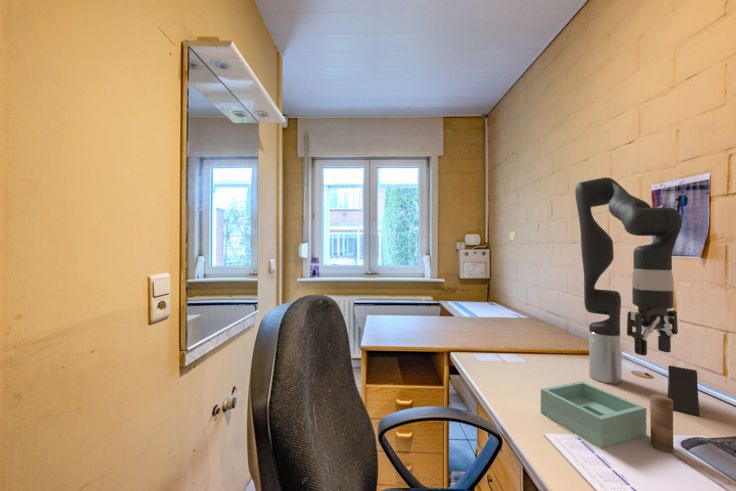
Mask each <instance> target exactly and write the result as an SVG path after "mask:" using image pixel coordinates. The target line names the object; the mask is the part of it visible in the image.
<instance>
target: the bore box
mask: <svg viewBox="0 0 736 491" xmlns="http://www.w3.org/2000/svg"><path fill="white" fill-rule="evenodd" d="M540 413H541V414H542V415H543V416H546V417H547V418H549V419H551V420H552V421H554V422H556V423H558V424H559V425H561V426H562V427H564V428H565V429H568V430H569V431H571V432H573V433H575V434H576V435H578V436H580V437H582V438H583V439H584V440H586V441H588V442H589V443H591V444H593V445H595V446H596V447H598V448H599V449H605V448H607V447H610V446H614V445H617V444H620V443H624V442H627V441H631V440H634V439H637V438H641V437H644V436H647V407H645V406H642V405H640V404H638V403H635V402H634V401H631V400H628V399H626V398H623V397H621V396H619V395H616V394H613V393H611V392H610V391H607V390H604V389H601V388H599V387H597V386H594V385H592V384H589V383H588V382H585V381H582V380H581V381H576V382H572V383H570V382H569V383H566V384H561V385H553V386H550V387H549V386H548V387H543V388H540Z"/></svg>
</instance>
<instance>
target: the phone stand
mask: <svg viewBox="0 0 736 491" xmlns="http://www.w3.org/2000/svg"><path fill="white" fill-rule="evenodd" d="M667 367H668V373H667V374H668V379H667V381H668V382H667V397H668V398H670V399H672V400H673V411H675V412H678V413H679V412H680V413H684V414H688V415H691V416H697V417H700V404H699V403H700V402H699V386H698V371H697V370H696V369H690V368H685V367H680V366H675V365H668V366H667Z"/></svg>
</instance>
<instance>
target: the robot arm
mask: <svg viewBox="0 0 736 491" xmlns="http://www.w3.org/2000/svg"><path fill="white" fill-rule="evenodd" d="M575 186H576V187H575V192H574V194H575V202H576V208H577V214H578V219H579V220H578V221H579V228H580V248H581V249H580V250H581V259H582V260H581V261H582V268H583V277H584V278H583V279H584V280H583V283H584V284H583V290H584V291H583V292H584V293H583V295H584V296H583V299H584V300H583V301H584V307H585V310H586V311H587V312H588V313H590V314H596V315H597V314H598V315H604V316H605V315H606V316H608V318H607V319H605V320H600V321H595V322H591V323H589V325H588V330H589V331H588V334H589V335H588V339H589V340H588V341H589V342H588V345H589V346H588V349H589V351H588V353H589V355H588V357H589V360H588V361H589V362H588V366H589V367H588V368H589V369H588V370H589V372H588V373H589V377H590V378H592V379H593V380H595V381H597V382H601V383H604V384H605V383H606V384H616V385H617V384H620V383H621V381H622V376H623V374H622V366H623V365H622V354H621V311H622V310H621V308H622V297H621V294H620V292H619V291H617V290H609V289H596V288H595V286H596V284H597V283H598V282H597V281H599V278H600V277H601V276H602V274H604V272H605V271H606V270H607V269H608V268H609V267H610V266H611V264H612V263H613V261H614V256H615V255H614V254H615V253H614V242H613V239H612V237H611V236H610V235H609V234H608V233H607V232H606V230H604V229H603V228H602V226H600V225H599V224H598V222H597V221H596V220H595V219H594V216H593V214H592V213H593V212H592V208H594V207H602V206H606V205H608V210H609V213H610V214H611V215H612V216H613V217H614V218H616V219H617V220H618V221H620V222H621V223H622V225H623V228H624V230H625V231H626V232H627V233H628V234H630V235H633V236H637V237H649V236H650V237H654V240H653V241H652V243H650V244H645V245H639V246H636V247H635V248H634V249H633V272H632V280H631V281H632V283H631V284H632V287H631V288H632V297H631V298H632V303H631V304H633V305H634V306H636V307H637V312H636V311H627V318H626V324H627V325H626V335H627V336H629V337H631V338H633V340H634V353H635V354H636V355H640V356H647V355H648V340H647V339H648V338H649V335H650V334H652V333H653V332H654V331H656V332H657V334H658V335H657V348H658V351H659V352H664V353H671V352H672V348H671V347H672V344H671V343H672V342H671V339H672V338H673V337H674V335H677V334H678V332H679V330H678V313H677V311H676V310H674V309H673V308H674V306H675V304H674V303H675V302H674V300H675V298H674V297H675V293H674V277H673V276H674V275H673V251H674V248H675V246H676V242H677V239H678V238H679V237H678V236H679V235H680V232H681V229H682V225H683V218H682V216H681V214H680V212H679V211H678V210H677V209H676V208H673V207H651V205H650V204H649V203H648V202H647V201H645V200H642V198H641V199H640V198H638V197H636V196H634V195H631V194H630V193H629V192H628V191H627V190H626V189H625V188H624V187H623V186H622V185H620V184H619V183H618V182H617V181H616V180H615V179H613V178H611V177H599V178H595V179H589V180H585V181H581V182H578V183H577V184H576V185H575ZM672 309H673V310H672ZM633 328H634V330H633Z"/></svg>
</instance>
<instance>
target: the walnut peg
mask: <svg viewBox="0 0 736 491" xmlns="http://www.w3.org/2000/svg"><path fill="white" fill-rule="evenodd" d="M649 396H650V398H649V399H650V401H649V402H650V409H649V410H650V413H649V414H650V417H649V418H650V424H649V425H650V446H651V447H652V448H653V449H655V450H657V451H659V452H661V453H667V454H672V453H673V452H674V410H673V400H672V399H670V398H668V396H665V395H661V394H655V393H653V394H650V395H649Z"/></svg>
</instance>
